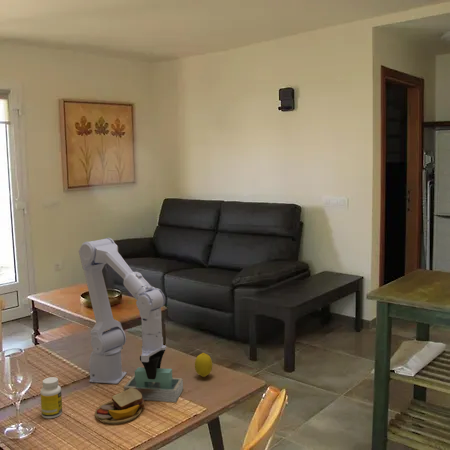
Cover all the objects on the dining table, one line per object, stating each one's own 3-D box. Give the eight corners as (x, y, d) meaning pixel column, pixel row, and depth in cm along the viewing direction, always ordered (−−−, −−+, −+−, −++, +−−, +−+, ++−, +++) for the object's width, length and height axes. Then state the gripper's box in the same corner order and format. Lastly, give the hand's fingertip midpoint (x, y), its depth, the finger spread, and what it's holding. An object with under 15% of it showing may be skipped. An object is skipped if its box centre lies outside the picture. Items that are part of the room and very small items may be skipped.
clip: (135, 392, 153) (134, 371, 152) (139, 388, 156) (138, 367, 155) (170, 394, 151) (169, 373, 150) (172, 389, 154) (172, 368, 153)
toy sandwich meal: (90, 409, 145) (89, 393, 145) (137, 399, 151) (136, 383, 151) (101, 430, 134) (100, 413, 134) (151, 418, 140) (151, 401, 140)
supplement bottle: (62, 417, 141) (60, 382, 139) (41, 420, 139) (38, 385, 138) (62, 408, 146) (60, 374, 145) (42, 411, 144) (39, 377, 143)
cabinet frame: (124, 398, 151) (123, 387, 150) (133, 386, 159) (133, 375, 158) (175, 402, 148) (175, 390, 148) (183, 389, 156) (182, 378, 156)
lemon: (210, 381, 161) (209, 356, 160) (193, 380, 163) (192, 355, 161) (214, 374, 167) (213, 350, 166) (197, 372, 168) (196, 349, 167)
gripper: (157, 340, 143) (159, 387, 145) (172, 323, 157) (173, 366, 159) (133, 339, 144) (135, 386, 146) (149, 322, 159) (151, 365, 160)
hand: (153, 376), depth 153 cm, fingers closed on clip, 3 cm apart
